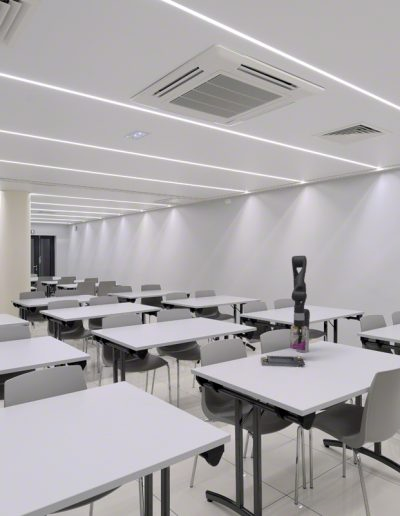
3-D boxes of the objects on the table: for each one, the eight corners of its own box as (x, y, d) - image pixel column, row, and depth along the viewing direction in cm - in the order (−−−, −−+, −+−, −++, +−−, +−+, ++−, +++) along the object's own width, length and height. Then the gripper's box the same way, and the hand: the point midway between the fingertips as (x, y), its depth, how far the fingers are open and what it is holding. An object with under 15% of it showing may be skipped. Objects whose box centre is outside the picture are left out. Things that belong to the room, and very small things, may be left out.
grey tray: (260, 359, 279) (261, 352, 279) (300, 361, 277) (301, 353, 277) (262, 365, 264) (262, 358, 264) (304, 367, 261) (304, 359, 261)
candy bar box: (290, 348, 283) (290, 325, 283) (292, 347, 287) (292, 324, 287) (305, 350, 277) (305, 327, 277) (307, 349, 281) (307, 326, 281)
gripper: (306, 320, 274) (306, 344, 275) (302, 317, 289) (302, 340, 289) (295, 320, 275) (295, 344, 275) (292, 317, 289) (292, 339, 289)
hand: (298, 342), depth 282 cm, fingers closed on candy bar box, 6 cm apart
